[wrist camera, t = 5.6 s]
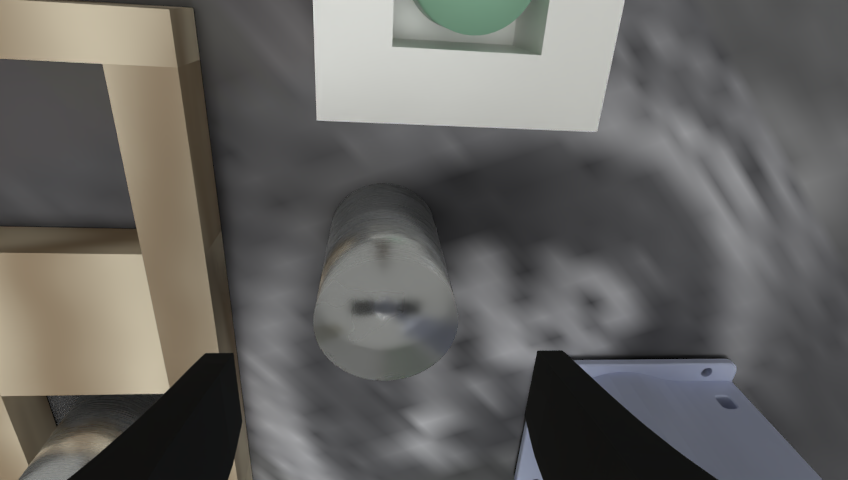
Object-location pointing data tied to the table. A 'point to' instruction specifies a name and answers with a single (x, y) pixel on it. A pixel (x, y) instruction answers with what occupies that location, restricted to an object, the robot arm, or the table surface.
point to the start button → (472, 14)
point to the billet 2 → (384, 287)
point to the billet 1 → (86, 433)
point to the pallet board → (116, 232)
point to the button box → (464, 66)
